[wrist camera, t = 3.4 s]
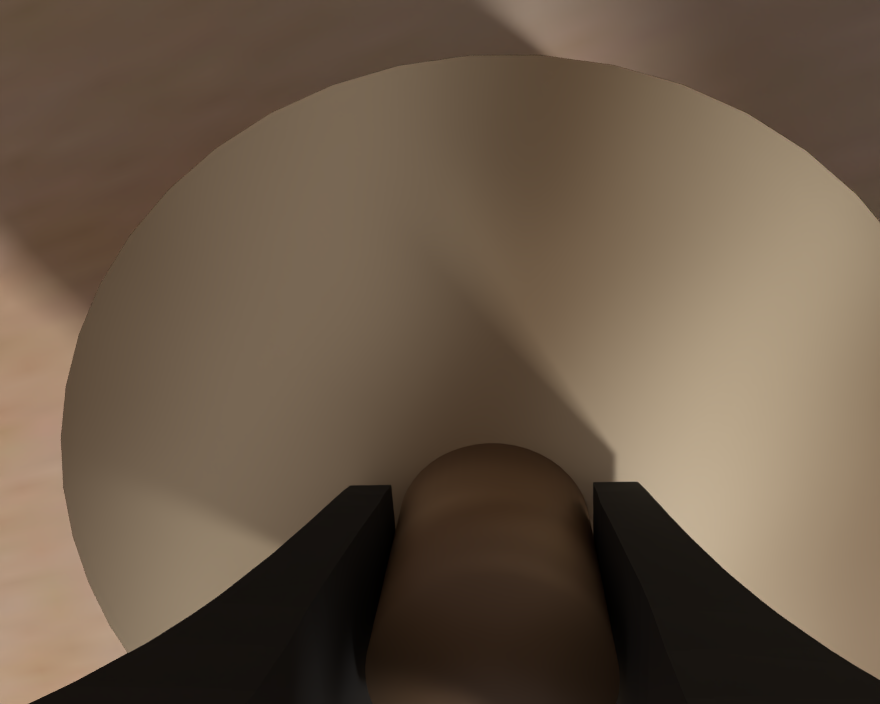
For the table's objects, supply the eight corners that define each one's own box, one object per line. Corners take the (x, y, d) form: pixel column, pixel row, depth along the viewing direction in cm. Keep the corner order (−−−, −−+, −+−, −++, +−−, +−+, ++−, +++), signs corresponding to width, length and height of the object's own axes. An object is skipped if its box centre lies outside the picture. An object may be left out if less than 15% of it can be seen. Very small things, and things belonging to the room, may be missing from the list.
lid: (1011, 16, 9) (1327, -17, 6) (879, 814, 14) (1011, 1076, 10) (-6, 92, 11) (-266, 104, 7) (171, 802, 15) (67, 1031, 11)
